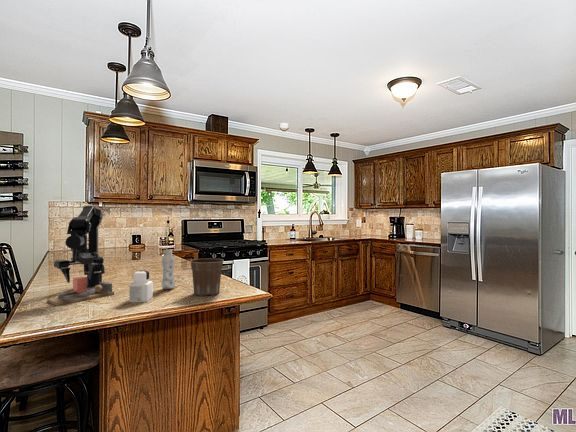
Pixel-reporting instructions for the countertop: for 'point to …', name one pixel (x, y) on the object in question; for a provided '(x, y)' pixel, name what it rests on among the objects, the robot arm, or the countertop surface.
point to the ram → (81, 286)
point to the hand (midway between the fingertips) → (79, 281)
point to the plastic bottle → (168, 270)
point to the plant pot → (206, 276)
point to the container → (141, 287)
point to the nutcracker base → (83, 295)
